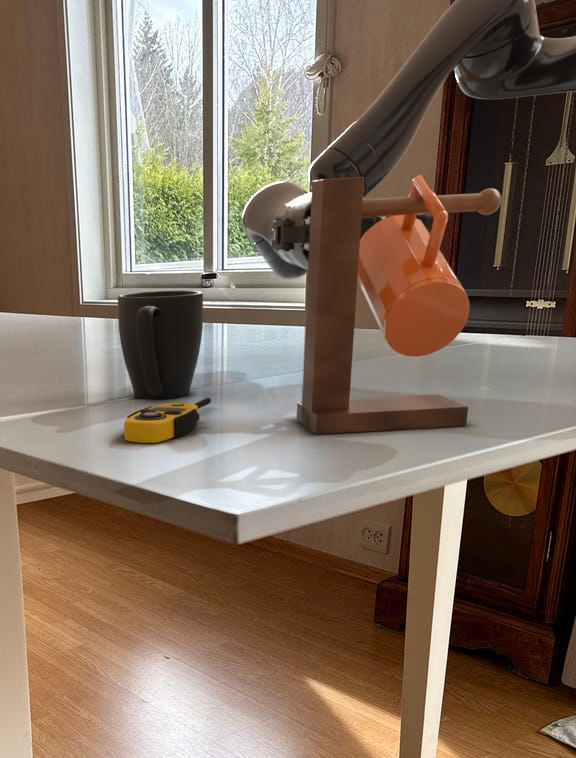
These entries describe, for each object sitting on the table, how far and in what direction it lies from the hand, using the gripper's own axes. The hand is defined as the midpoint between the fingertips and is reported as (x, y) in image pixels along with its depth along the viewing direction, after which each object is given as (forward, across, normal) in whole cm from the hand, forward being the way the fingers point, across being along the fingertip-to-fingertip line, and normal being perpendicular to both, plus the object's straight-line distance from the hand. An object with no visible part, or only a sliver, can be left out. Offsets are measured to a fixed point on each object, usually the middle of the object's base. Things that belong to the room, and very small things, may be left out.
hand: (379, 230), depth 77 cm
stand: (+9, -2, +14) cm, 17 cm away
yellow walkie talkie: (+5, -18, +14) cm, 24 cm away
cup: (+13, 0, +4) cm, 14 cm away
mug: (-9, -18, +14) cm, 25 cm away
